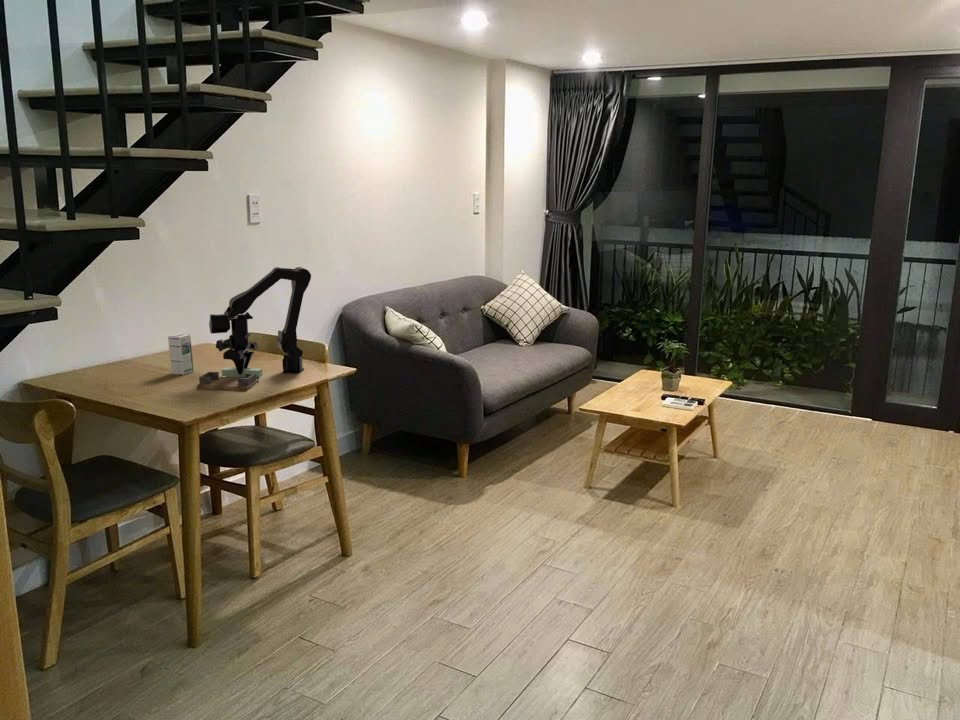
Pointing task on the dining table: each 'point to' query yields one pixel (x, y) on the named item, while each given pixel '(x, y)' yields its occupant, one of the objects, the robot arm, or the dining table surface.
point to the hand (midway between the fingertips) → (242, 373)
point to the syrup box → (180, 353)
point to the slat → (234, 373)
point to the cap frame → (226, 381)
